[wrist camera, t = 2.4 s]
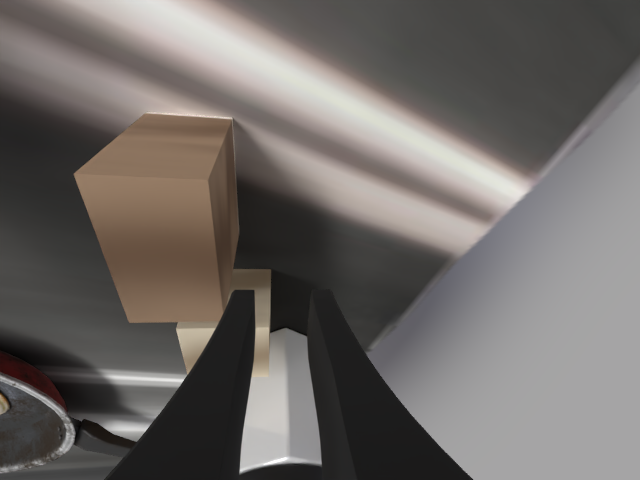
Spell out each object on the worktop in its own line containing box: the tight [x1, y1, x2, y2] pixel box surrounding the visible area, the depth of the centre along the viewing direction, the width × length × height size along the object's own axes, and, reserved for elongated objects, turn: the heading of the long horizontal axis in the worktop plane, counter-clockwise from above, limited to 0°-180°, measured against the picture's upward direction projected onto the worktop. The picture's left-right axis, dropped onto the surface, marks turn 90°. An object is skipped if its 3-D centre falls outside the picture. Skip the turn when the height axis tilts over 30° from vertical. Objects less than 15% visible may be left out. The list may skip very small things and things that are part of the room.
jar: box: [239, 328, 323, 480], centre depth 24 cm, size 9×8×12 cm
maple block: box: [176, 269, 271, 377], centre depth 21 cm, size 5×5×5 cm
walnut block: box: [74, 112, 239, 323], centre depth 15 cm, size 7×4×7 cm, turn 174°
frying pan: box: [0, 351, 137, 473], centre depth 28 cm, size 19×32×4 cm, turn 58°
